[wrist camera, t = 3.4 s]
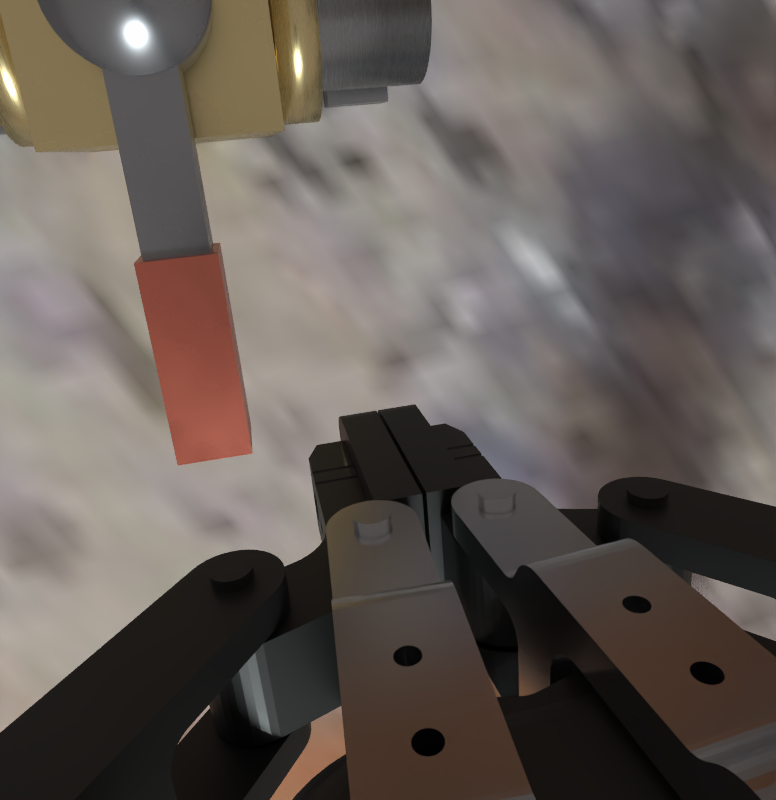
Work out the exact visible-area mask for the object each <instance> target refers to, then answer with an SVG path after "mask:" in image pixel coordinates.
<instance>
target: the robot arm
mask: <svg viewBox="0 0 776 800" xmlns="http://www.w3.org/2000/svg"><path fill="white" fill-rule="evenodd" d="M339 430H340V438H341V441H339V442H333V443H327V444H321V445H317V446H316V448H315V449H314V451H313V452H312V454H311V456H310V457H309V463H310V470H311V477H312V484H313V491H314V498H315V506H316V513H317V520H318V527H319V531H320V536H321V540H322V543H321V544H320V546H319V547H318V548H317V549H316V550H315V551H313V552H312V553H311V554H309V555H308V556H306V557H304V558H303V559H301V560H299V561H297V562H294V563H292V564H290V565H287V566H285V567H284V565H283V563H282V561H281V560H280V559H279V558H278V557H276V556H275V555H273V554H271V553H268V552H265V551H259V550H238V551H232V552H228V553H224V554H221V555H218V556H215V557H213V558H211V559H209V560H206V561H205V562H203V563H201V564H200V565H198V566H197V567H196V568H194V569H193V570H192V571H191V572H189V573H188V574H187V575H186V576H185V577H184V578H182V579H181V580H180V581H179V582H178V583H176V584H175V585H174V586H173V587H172V588H171V589H169V590H168V591H167V592H166V593H165V594H163V595H162V596H161V597H160V598H159V599H158V600H156V601H155V602H154V603H153V604H152V605H150V606H149V607H148V608H147V609H146V610H145V611H143V612H142V613H141V614H140V615H139V616H137V617H136V618H135V619H134V620H133V621H132V622H130V623H129V624H128V625H127V626H126V627H125V628H123V629H122V630H121V631H120V632H119V633H117V634H116V635H115V636H114V637H113V638H112V639H110V640H109V641H108V642H107V643H106V644H104V645H103V646H102V647H101V648H100V649H99V650H97V651H96V652H95V653H94V654H93V655H91V656H90V657H89V658H88V659H87V660H86V661H84V662H83V663H82V664H81V665H80V666H78V667H77V668H76V669H75V670H74V671H73V672H71V673H70V674H69V675H68V676H67V677H65V678H64V679H63V680H62V681H61V682H60V683H58V684H57V685H56V686H55V687H54V688H53V689H51V690H50V691H49V692H48V693H47V694H45V695H44V696H43V697H42V698H41V699H40V700H38V701H37V702H36V703H35V704H34V705H32V706H31V707H30V708H29V709H28V710H27V711H25V712H24V713H23V714H22V715H21V716H19V717H18V718H17V719H16V720H15V721H14V722H12V723H11V724H10V725H9V726H8V727H6V728H5V729H4V730H3V731H2V732H1V733H0V800H270V798H271V797H272V795H273V794H274V793H275V791H276V790H277V788H278V787H279V785H280V784H281V782H282V781H283V779H284V778H285V776H286V775H287V773H288V772H289V771H290V769H291V768H292V766H293V765H294V763H295V762H296V760H297V759H298V757H299V756H300V754H301V753H302V751H303V750H304V748H305V747H306V745H307V743H308V741H309V738H310V734H311V722H312V721H314V720H315V719H317V718H319V717H321V716H323V715H325V714H327V713H328V712H330V711H332V710H334V709H336V708H338V707H340V706H341V707H342V717H343V728H344V738H345V748H346V754H345V755H344V756H342V757H341V758H339V759H338V760H336V761H334V762H333V763H331V764H330V765H328V766H327V767H326V768H325V769H323V770H322V771H321V772H320V773H319V774H317V775H316V776H315V777H314V778H312V779H311V780H310V781H309V782H308V783H307V784H306V785H305V786H304V787H303V788H302V789H301V790H300V792H299V793H298V794H297V795H296V796H295V797H294V798H293V800H776V641H774V640H771V639H768V638H765V637H762V636H759V635H756V634H753V633H751V632H748V631H745V630H743V629H742V628H740V627H739V626H738V625H737V624H736V623H734V622H733V621H732V620H731V619H730V618H728V617H727V616H726V615H725V614H724V613H722V612H721V611H720V610H719V609H718V608H716V607H715V606H714V605H713V604H712V603H711V602H709V601H708V600H707V599H706V598H705V597H703V596H702V595H701V594H700V593H699V592H697V591H696V590H695V589H694V588H693V587H691V579H692V572H693V573H696V574H700V575H703V576H706V577H709V578H712V579H715V580H719V581H722V582H725V583H728V584H731V585H734V586H738V587H741V588H744V589H747V590H750V591H754V592H757V593H760V594H763V595H766V596H769V597H772V598H774V599H776V507H774V506H770V505H766V504H762V503H758V502H753V501H749V500H745V499H741V498H737V497H733V496H729V495H724V494H720V493H716V492H712V491H708V490H704V489H699V488H695V487H691V486H687V485H683V484H679V483H674V482H670V481H666V480H661V479H656V478H649V477H629V478H622V479H618V480H615V481H612V482H610V483H608V484H606V485H605V486H603V487H602V488H601V489H600V491H599V494H598V509H557V508H556V507H554V506H553V505H552V504H551V503H550V502H549V501H548V500H547V499H546V498H545V497H544V496H543V495H542V494H540V493H539V492H538V491H537V490H536V489H535V488H533V487H531V486H530V485H528V484H525V483H522V482H519V481H515V480H509V479H502V478H501V477H500V476H499V475H498V473H497V472H496V471H495V470H494V469H493V467H492V466H491V465H490V464H489V462H488V461H487V460H486V459H485V458H484V456H481V453H480V451H479V450H478V449H477V448H476V447H475V446H473V443H472V442H471V440H470V439H469V438H468V437H467V436H466V434H465V433H464V432H462V431H460V430H458V429H456V428H454V427H451V426H449V425H447V424H440V425H434V426H430V424H429V423H428V422H427V420H426V419H425V417H424V416H423V415H422V413H421V412H420V410H419V409H418V408H417V406H416V405H408V406H402V407H396V408H389V409H383V410H378V413H377V411H372V412H365V413H359V414H353V415H347V416H341V417H339ZM208 705H209V706H210V709H209V710H208V711H207V712H206V713H205V714H204V716H203V717H202V718H201V719H200V720H199V721H198V722H197V723H196V725H195V726H194V727H193V728H192V729H191V730H190V731H189V733H188V734H187V735H186V736H185V737H184V738H183V739H182V740H181V742H180V743H179V744H178V742H179V741H180V739H181V737H182V735H183V734H184V732H185V731H186V730H187V729H188V727H189V726H190V725H191V724H192V723H193V722H194V721H195V720H196V718H197V717H198V716H199V715H200V714H201V713H202V712H203V711H204V709H205V708H206V707H207V706H208ZM177 744H178V745H177Z"/></svg>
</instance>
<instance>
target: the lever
mask: <svg viewBox="0 0 776 800" xmlns="http://www.w3.org/2000/svg"><path fill="white" fill-rule="evenodd" d="M37 1H38V4H39V6H40V8H41V11H42V12H43V14H44V16H45V18H46V20H47V21H48V23H49V24H50V26H51V27H52V28H53V30H54V31H55V33H56V34H57V35H58V36H59V37H60V38H61V39H62V41H63V42H64V43H65V44H66V45H68V46H69V47H70V48H71V49H72V50H73V51H74V52H76V53H77V54H78V55H80V56H81V57H83V58H84V59H86V60H87V61H89V62H90V63H92V64H94V65H95V66H97V67H99V68H100V69H102V72H103V76H104V81H105V86H106V90H107V95H108V100H109V105H110V109H111V114H112V119H113V123H114V128H115V133H116V138H117V142H118V147H119V152H120V156H121V161H122V166H123V171H124V175H125V180H126V185H127V189H128V194H129V199H130V204H131V208H132V213H133V218H134V222H135V227H136V232H137V237H138V241H139V246H140V251H141V256H140V257H139V258H138V260H137V261H136V262H135V263H134V266H135V270H136V275H137V279H138V284H139V289H140V293H141V298H142V302H143V307H144V312H145V316H146V321H147V325H148V330H149V335H150V339H151V344H152V349H153V353H154V358H155V362H156V367H157V372H158V376H159V381H160V385H161V390H162V395H163V399H164V404H165V408H166V413H167V418H168V422H169V427H170V432H171V436H172V441H173V445H174V450H175V455H176V459H177V464H178V465H183V464H190V463H196V462H202V461H208V460H214V459H220V458H227V457H233V456H239V455H245V454H251V453H252V437H251V422H250V416H249V411H248V405H247V399H246V393H245V387H244V381H243V375H242V369H241V364H240V358H239V352H238V346H237V340H236V334H235V328H234V322H233V316H232V311H231V305H230V299H229V293H228V287H227V281H226V275H225V269H224V264H223V258H222V252H221V246H220V243H214V244H213V241H212V235H211V230H210V224H209V218H208V212H207V207H206V201H205V195H204V189H203V184H202V178H201V172H200V166H199V161H198V155H197V149H196V143H195V138H194V132H193V126H192V120H191V115H190V109H189V103H188V97H187V92H186V86H185V80H184V74H183V72H184V71H186V70H187V69H188V68H189V67H191V66H192V65H193V64H194V63H195V62H196V60H197V59H198V58H199V57H200V55H201V54H202V52H203V50H204V49H205V47H206V44H207V42H208V40H209V37H210V33H211V30H212V23H213V0H37Z"/></svg>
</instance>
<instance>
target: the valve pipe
mask: <svg viewBox="0 0 776 800" xmlns="http://www.w3.org/2000/svg"><path fill="white" fill-rule="evenodd" d="M431 27H432V17H431V0H213V23H212V30H211V33H210V37H209V40H208V42H207V44H206V47H205V49H204V50H203V52H202V54H201V55H200V57H199V58H198V59H197V60H196V62H195V63H194V64H193V65H192V66H191V67H189V68H188V69H187V70H186V71H184V72H183V74H184V80H185V86H186V92H187V97H188V103H189V109H190V115H191V120H192V126H193V132H194V138H195V143H200V142H211V141H223V140H234V139H246V138H257V137H268V136H273V135H276V134H278V133H280V132H282V131H285V129H284V125H287V124H299V123H310V122H319V120H320V117H321V111H322V92H323V95H324V104H325V108H328V107H340V106H352V105H364V104H377V103H384V102H387V101H388V93H387V86H400V85H412V84H420V83H421V82H422V81H423V79H424V77H425V74H426V71H427V67H428V62H429V56H430V47H431ZM0 134H7V135H8V136H9V138H10V139H11V140H12V141H13V142H14V143H16V144H17V145H19V146H22V147H29V146H34V147H35V151H36V152H97V151H109V150H119V147H118V142H117V138H116V133H115V128H114V123H113V119H112V114H111V109H110V105H109V100H108V95H107V90H106V86H105V81H104V76H103V72H102V69H100V68H99V67H97V66H95V65H94V64H92V63H90V62H89V61H87V60H86V59H84V58H83V57H81V56H80V55H78V54H77V53H76V52H74V51H73V50H72V49H71V48H70V47H69V46H68V45H66V44H65V43H64V42H63V41H62V39H61V38H60V37H59V36H58V35H57V34H56V33H55V31H54V30H53V28H52V27H51V26H50V24H49V23H48V21H47V20H46V18H45V16H44V14H43V12H42V11H41V8H40V6H39V4H38V1H37V0H0Z"/></svg>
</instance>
